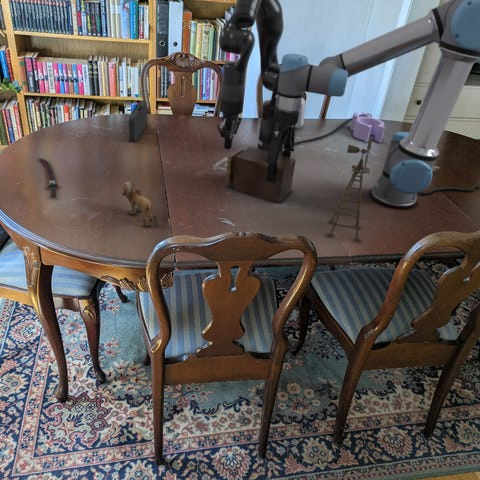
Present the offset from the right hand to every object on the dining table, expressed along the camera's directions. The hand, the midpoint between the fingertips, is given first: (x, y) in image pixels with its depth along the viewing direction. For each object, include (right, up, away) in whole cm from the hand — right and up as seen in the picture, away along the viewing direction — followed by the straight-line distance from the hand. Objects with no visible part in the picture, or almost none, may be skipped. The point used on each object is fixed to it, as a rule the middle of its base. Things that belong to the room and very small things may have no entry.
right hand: (277, 175), depth 153 cm
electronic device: (+10, +32, +64) cm, 72 cm away
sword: (-75, -1, -2) cm, 75 cm away
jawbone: (+59, +9, +37) cm, 70 cm away
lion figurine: (-42, -14, -17) cm, 47 cm away
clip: (+45, +28, +63) cm, 82 cm away
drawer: (-11, -1, +7) cm, 13 cm away
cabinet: (-5, -4, +5) cm, 8 cm away
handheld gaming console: (-54, +23, +39) cm, 71 cm away
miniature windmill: (+19, -19, -13) cm, 29 cm away
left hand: (-16, +10, +4) cm, 19 cm away
